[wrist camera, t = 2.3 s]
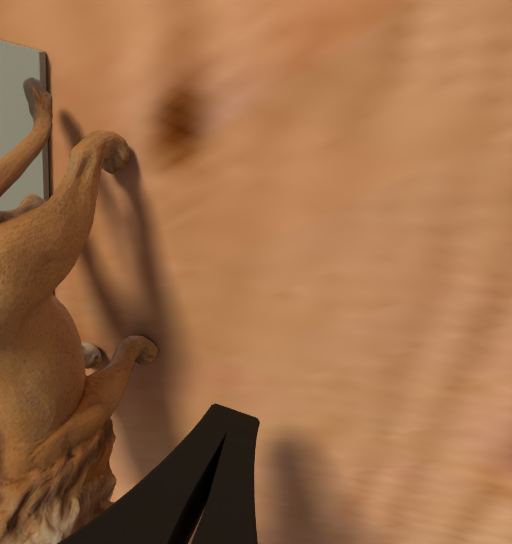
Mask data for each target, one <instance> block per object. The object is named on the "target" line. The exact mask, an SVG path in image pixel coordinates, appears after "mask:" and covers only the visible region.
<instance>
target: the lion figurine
mask: <svg viewBox="0 0 512 544" xmlns="http://www.w3.org/2000/svg"><path fill="white" fill-rule="evenodd" d="M23 89H24V93H25V96H26V99H27V101H28V104H29V111H30V114H31V116H32V118H33V121H34V126H33V128H32V131H31V132H30V133H29V134H28V136H26V137H25V138H24V139H23V140H22V141H21V142H20V143H19V144H18V145H17V146H16V147H15V148H14V149H12V150H11V151H10V152H9V153H7V154H6V155H5V156H4V157H2V158H1V159H0V197H1V196H2V195H3V194H4V193H5V192H6V191H7V190H8V189H9V188H10V187H11V186H12V185H13V184H14V183H15V182H16V181H17V180H18V179H19V178H20V177H21V175H22V174H23V173H24V172H25V170H26V169H27V168H28V167H29V165H30V164H31V163H32V161H33V160H34V159H35V158H36V157H37V156H38V155H39V153H40V152H41V150H42V149H43V147H44V145H45V144H46V142H47V140H48V138H49V137H50V135H51V130H52V117H53V115H52V96H51V94H49V93H48V92H47V91H46V89H45V87H44V85H43V84H42V82H40V81H39V80H38V79H36V78H34V77H31V78H28V79H26V80H25V81H24V82H23ZM129 158H130V150H129V147H128V145H127V143H126V141H125V140H124V139H123V138H122V137H121V136H120V135H118V134H116V133H113V132H109V131H96V132H92V133H90V134H89V135H87V136H86V137H85V138H83V139H82V140H81V141H80V142H79V143H78V144H77V145H76V146H74V148H73V149H72V150H71V151H70V155H69V164H68V168H67V172H66V174H65V176H64V178H63V180H62V182H61V184H60V185H59V186H58V188H57V189H56V191H55V192H54V194H53V195H52V196H51V197H50V198H49V200H48V201H45V200H44V199H42V198H41V197H40V196H38V195H36V194H30V195H27V196H26V197H25V198H24V199H23V201H22V202H21V203H20V205H19V206H18V207H17V208H15V209H13V210H9V211H0V544H57V543H59V542H60V541H62V540H64V539H65V538H67V537H68V536H70V535H71V534H73V533H74V532H76V531H77V530H78V529H80V528H81V527H83V526H84V525H86V524H87V523H88V522H90V521H91V520H92V519H94V518H95V517H96V516H98V515H99V514H101V513H102V512H103V511H105V510H106V509H107V508H109V507H110V506H111V505H112V504H114V502H110V499H111V496H112V494H113V490H114V487H115V485H116V478H115V476H114V475H113V474H112V471H111V469H110V465H109V458H110V455H111V453H112V448H113V444H114V442H115V438H116V437H115V435H114V432H113V424H112V420H111V419H110V417H111V415H112V413H113V412H114V410H115V408H116V407H117V405H118V403H119V401H120V399H121V397H122V395H123V393H124V391H125V389H126V386H127V384H128V381H129V377H130V372H131V370H132V367H133V365H134V362H137V363H138V364H140V365H146V364H147V363H150V362H152V361H153V360H154V359H155V356H156V354H157V353H158V348H157V347H156V346H155V344H154V343H153V342H151V341H150V340H148V339H147V338H145V337H143V336H128V337H127V338H125V339H124V340H123V341H122V342H121V344H120V345H119V346H118V348H117V349H116V351H115V353H114V355H113V358H112V360H111V361H110V362H109V364H108V365H107V367H105V368H104V369H101V370H98V371H96V372H94V373H93V374H91V375H89V376H86V374H85V368H87V369H89V368H96V367H98V366H99V364H100V363H101V353H100V351H99V349H98V348H97V347H96V346H94V345H92V344H90V343H88V342H81V339H80V336H79V333H78V330H77V328H76V325H75V323H74V321H73V318H72V317H71V315H70V313H69V312H68V310H67V309H66V308H65V306H64V305H63V304H62V303H61V302H60V301H59V300H58V299H57V298H56V297H55V296H54V295H53V290H54V289H55V288H56V287H57V286H58V285H59V284H60V283H61V282H62V281H63V280H64V278H65V277H66V276H67V275H68V273H69V272H70V271H71V269H72V268H73V267H74V265H75V263H76V261H77V259H78V257H79V255H80V253H81V251H82V249H83V247H84V244H85V242H86V240H87V237H88V235H89V233H90V230H91V227H92V224H93V219H94V213H95V206H96V199H97V193H98V183H99V178H100V173H101V168H103V169H104V170H105V171H107V172H108V173H111V174H114V173H116V172H117V171H118V170H120V169H122V168H124V167H125V166H126V164H127V162H128V160H129Z"/></svg>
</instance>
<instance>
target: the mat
mask: <svg viewBox="0 0 512 544" xmlns="http://www.w3.org/2000/svg"><path fill="white" fill-rule="evenodd" d="M31 77H34V78H36V79H38V80H39V81H40V82H42V84H43V85H44V87H45V89H46V52H44V51H40V50H36V49H32V48H29V47H25V46H21V45H17V44H13V43H10V42H6V41H2V40H0V159H1V158H2V157H4V156H5V155H6V154H7V153H9V152H10V151H11V150H12V149H14V148H15V147H16V146H17V145H18V144H19V143H20V142H21V141H22V140H23V139H24V138H25V137H26V136H28V134H29V133H30V132H31V131H32V128H33V126H34V121H33V118H32V116H31V114H30V111H29V104H28V101H27V99H26V96H25V93H24V89H23V82H24V81H25V80H26V79H28V78H31ZM30 194H36V195H38V196H40V197H41V198H42V199H44V200H45V201H48V200H49V171H48V140H47V142H46V144H45V145H44V147H43V149H42V150H41V152H40V153H39V155H38V156H37V157H36V158H35V159H34V160H33V161H32V163H31V164H30V165H29V167H28V168H27V169H26V170H25V172H24V173H23V174H22V175H21V177H20V178H19V179H18V180H17V181H16V182H15V183H14V184H13V185H12V186H11V187H10V188H9V189H8V190H7V191H6V192H5V193H4V194H3V195H2V196H1V197H0V211H9V210H13V209H15V208H17V207H18V206H19V205H20V203H21V202H22V201H23V199H24V198H25V197H26V196H27V195H30Z"/></svg>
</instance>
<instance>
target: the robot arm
mask: <svg viewBox="0 0 512 544" xmlns="http://www.w3.org/2000/svg"><path fill="white" fill-rule="evenodd" d="M259 424H260V422H259V420H258V419H257V418H256V417H253V416H250V415H247V414H244V413H241V412H238V411H236V410H233V409H230V408H227V407H224V406H221V405H218V404H213V405H211V407H210V408H209V410H208V411H207V412H206V414H205V415H204V416H203V418H202V419H201V420H200V421H199V423H198V424H197V425H196V426H195V427H194V429H193V430H192V431H191V432H190V433H189V434H188V435H187V436H186V438H185V439H184V440H183V441H182V442H181V443H180V444H179V445H178V446H177V447H176V448H175V449H174V450H173V451H172V452H171V453H170V454H169V455H168V456H167V457H166V458H165V459H164V460H163V461H162V462H161V463H160V464H159V465H158V466H157V467H156V468H154V469H153V470H152V471H151V472H150V473H149V474H148V475H147V476H146V477H145V478H144V479H143V480H141V481H140V482H139V483H138V484H137V485H136V486H134V487H133V488H132V489H131V490H130V491H129V492H127V493H126V494H125V495H124V496H122V497H121V498H120V499H119V500H117V501H116V502H115V503H114V504H112V505H111V506H110V507H109V508H107V509H106V510H105V511H103V512H102V513H101V514H99V515H98V516H96V517H95V518H94V519H92V520H91V521H90V522H88V523H87V524H86V525H84V526H83V527H81V528H80V529H78V530H77V531H76V532H74V533H73V534H71V535H70V536H68V537H67V538H65V539H64V540H62V541H60V542H59V543H57V544H188V542H189V540H190V538H191V536H192V534H193V532H194V530H195V528H196V525H197V523H198V521H199V519H200V517H201V515H202V513H203V510H204V508H205V510H204V513H203V516H202V518H201V521H200V523H199V526H198V528H197V531H196V533H195V536H194V538H193V541H192V543H191V544H258V542H257V531H256V518H255V500H254V461H255V447H256V438H257V432H258V427H259ZM205 506H206V507H205Z"/></svg>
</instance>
